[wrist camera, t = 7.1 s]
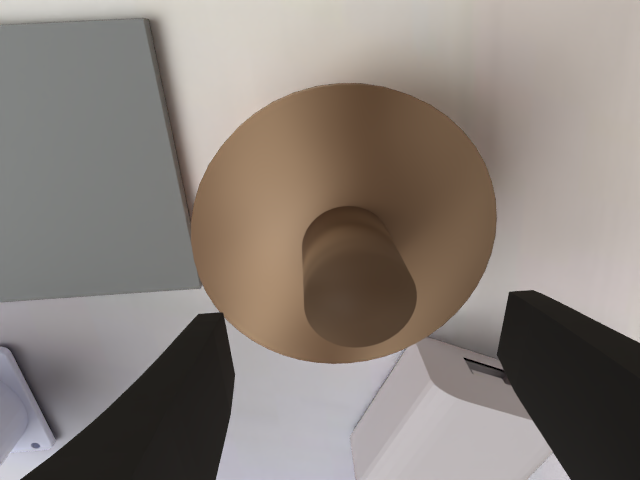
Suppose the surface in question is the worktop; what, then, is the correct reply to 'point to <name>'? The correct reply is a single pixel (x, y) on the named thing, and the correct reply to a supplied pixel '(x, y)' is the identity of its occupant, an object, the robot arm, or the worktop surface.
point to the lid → (343, 223)
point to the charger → (446, 421)
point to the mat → (88, 165)
